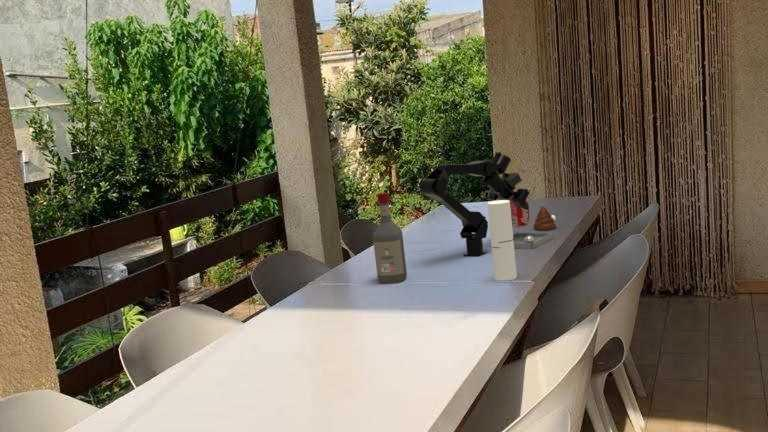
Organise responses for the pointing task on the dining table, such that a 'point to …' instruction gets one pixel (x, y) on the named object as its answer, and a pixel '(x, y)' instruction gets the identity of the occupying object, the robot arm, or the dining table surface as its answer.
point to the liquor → (388, 246)
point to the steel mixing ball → (529, 239)
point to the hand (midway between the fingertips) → (522, 208)
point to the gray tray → (538, 237)
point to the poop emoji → (544, 220)
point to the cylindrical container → (502, 240)
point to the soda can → (519, 215)
